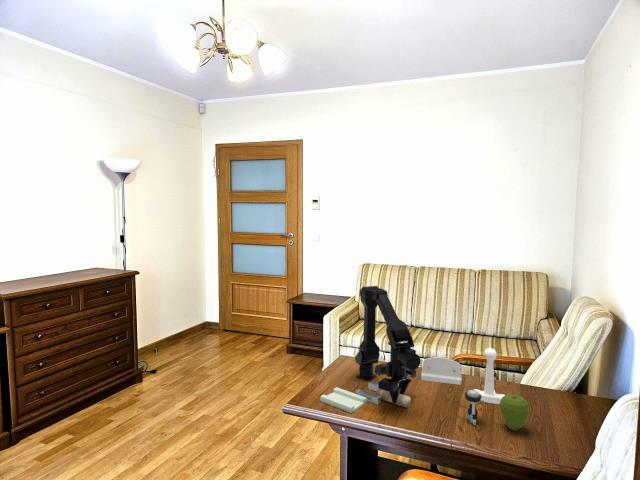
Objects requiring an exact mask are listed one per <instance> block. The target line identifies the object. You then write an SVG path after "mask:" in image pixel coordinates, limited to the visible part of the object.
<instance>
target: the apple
mask: <svg viewBox="0 0 640 480" xmlns="http://www.w3.org/2000/svg"><path fill="white" fill-rule="evenodd" d="M504 395H505V396H503V397H502V399H501V401H500V404H499V407H500V411H501V415H502V417H503V421H504V423H505V424H506V425H507V427H508V429H509V430H511V431H513V432H516V431H518V430H521V428H523V427H524V425H525V423H526V421H527V419H528V417H529V413H530V404H529V402H528V401H527V399H525V398H524V397H522V396H520V395H517V394H514V393H513V394H512V393H507V394H504Z"/></svg>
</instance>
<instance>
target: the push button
mask: <svg viewBox="0 0 640 480" xmlns="http://www.w3.org/2000/svg"><path fill="white" fill-rule="evenodd" d="M464 396H465V397H464V398H465V400H466V401H468V402H469V407H468V409H467V417H468V420H469V422H470V424H472V425H473V426H474V425H475V426H477V422H478V409H477V404H478V403H479V402H482V401H481V397H482V396H481V394H479V392H478V391H476V390H474V389H468V390H467V391H466V392H465V393H464Z"/></svg>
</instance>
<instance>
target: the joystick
mask: <svg viewBox="0 0 640 480" xmlns="http://www.w3.org/2000/svg"><path fill="white" fill-rule="evenodd" d="M483 356H484V358H485V359H486V366H485V377H484V387H483V388H484V389H483V390H480V389H476V388H474V389H473V390H476V391H478V392H479V394H481V396H482V397H481V401H480V402H485V403H489V404H495V405H500V401H501V399H502V397H503V396H505V395H506V394H501V393H497V392H496V390H495V382H494V380H495V379H494V377H495V376H494V375H495V374H494V373H495V372H494V371H495V370H494V361H495V360H496V358H497V357H498V353H497V351H496V349H494V348H493V347H492V348H491V347H487V348H486V349H485V350H484V352H483Z"/></svg>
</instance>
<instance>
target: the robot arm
mask: <svg viewBox="0 0 640 480" xmlns="http://www.w3.org/2000/svg"><path fill="white" fill-rule="evenodd" d="M388 293H389V292H388V291H387V290H385V289H384V288H380V287H379V286H378V285H369V286H368V285H367V286H362V287H361V288H360V290H359V299H360V302H361V303H362V305H363V338H362V339H363V340H362V341H361V343H360V345H359V347H358V352H357V354H356V355H355V357H354V359H355V363H356V364H357V365H359V366H358V369H359V370H358V372H359V373H358V374H357V375H356V378H359V379H362V380H366V381H369V382H370V380H371V381H372V380H373V379H374V378H376V377H377V376H382V375H383V376H384V375H386V376H385V377H384V378H382V379H380V380H379V381H378V382H377V383H378V388H379V389H382V390H385V391H389V392H390V395H391V398H392V401H393V403H392V404H394V403H396V402H397V399H398V396H399V393H400V394H403V395H405V393H406V392H407V389H408V388H409V385H410V384H411V382H412V379H414V378H416V377H417V369H418V368H419V367H420V365H421V357H420V355H419V354H417V351H416V349H415V348H414V347H415V344H414V342H415V340H414V339H413V336H412V334H411V332H410V329H409V328H408V326H407V325H406V323H405V322H404V321H403V320H402V319H400V318H399V316H398V315H397V312H396V310H395V309H394V307H393V305H392V302H391V300H390V298H389V295H388ZM377 307H378V308H379V311H380V313H381V316H382V317H383V319H384V321H385V324H386V328H385V329H386V330H385V333H386V336H387V339H388V342H387V344H388V345H389V346H390V357H389V358H390V360H389V361H388V362H386V363H381V364H379V359H380V353H381V352H380V346H379V345H378V344H377V342H376V316H377V314H376V313H377ZM374 364H378V365H374ZM409 375H410V377H411V379H410V378H409ZM388 377H389V378H388Z"/></svg>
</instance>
